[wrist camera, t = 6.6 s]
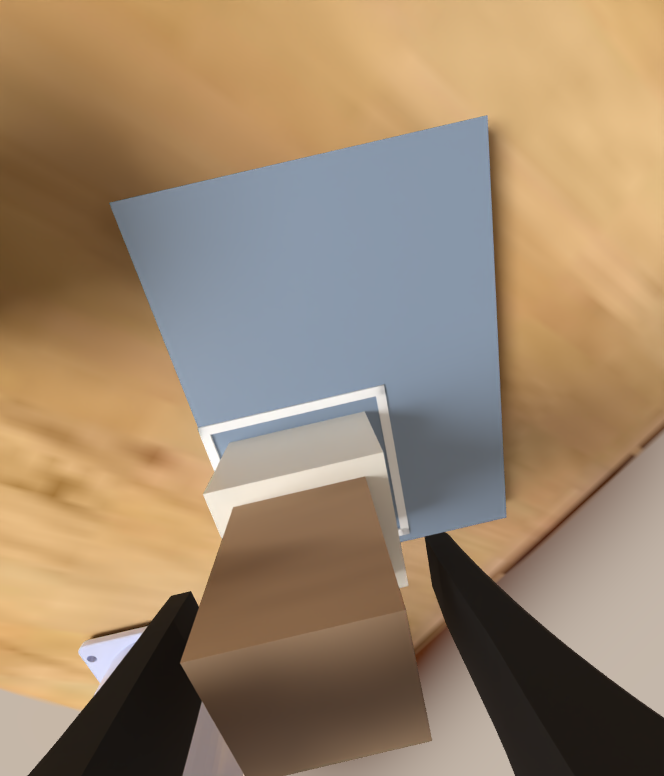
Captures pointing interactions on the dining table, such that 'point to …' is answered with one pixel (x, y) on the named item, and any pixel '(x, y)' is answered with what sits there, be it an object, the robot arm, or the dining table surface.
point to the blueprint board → (342, 309)
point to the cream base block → (306, 472)
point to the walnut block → (306, 636)
